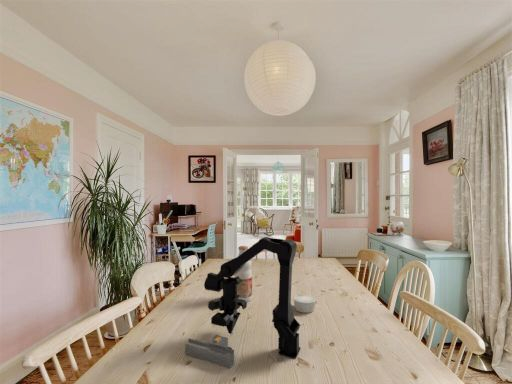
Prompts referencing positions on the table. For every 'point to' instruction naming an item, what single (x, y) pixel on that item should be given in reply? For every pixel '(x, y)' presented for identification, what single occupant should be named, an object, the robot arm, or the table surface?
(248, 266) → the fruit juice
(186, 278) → the table surface
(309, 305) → the ramekin
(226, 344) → the block
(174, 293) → the table surface
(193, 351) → the rail
